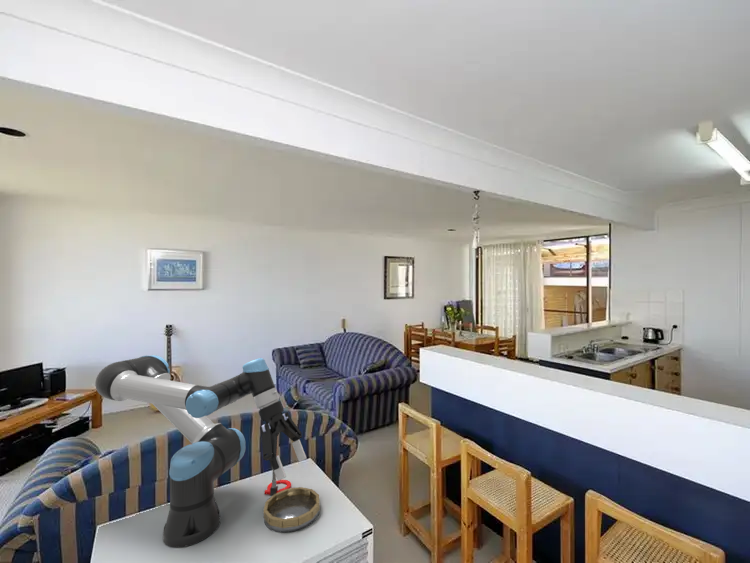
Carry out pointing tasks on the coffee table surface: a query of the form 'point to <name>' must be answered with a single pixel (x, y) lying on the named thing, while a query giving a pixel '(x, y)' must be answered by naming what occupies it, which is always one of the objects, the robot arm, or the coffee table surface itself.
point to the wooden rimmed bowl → (291, 509)
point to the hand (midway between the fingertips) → (293, 469)
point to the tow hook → (273, 488)
